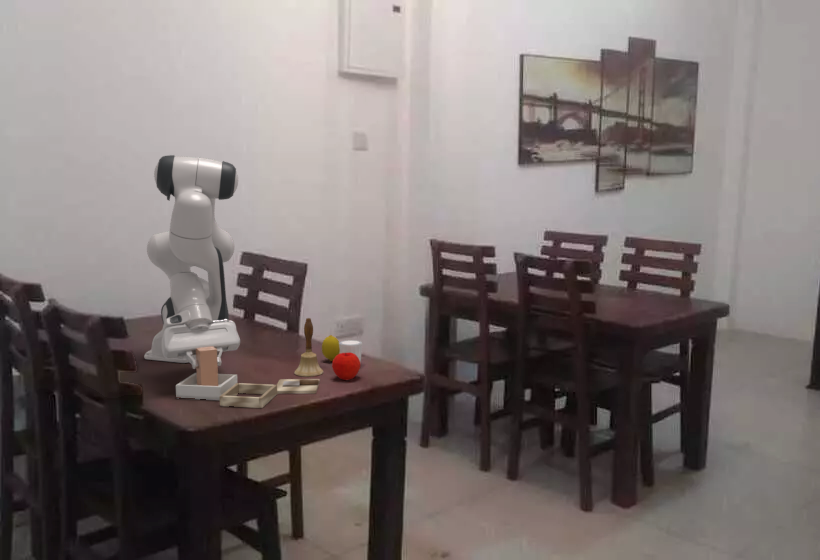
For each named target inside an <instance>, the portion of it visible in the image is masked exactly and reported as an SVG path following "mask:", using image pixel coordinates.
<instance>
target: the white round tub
mask: <svg viewBox="0 0 820 560" xmlns="http://www.w3.org/2000/svg"><path fill="white" fill-rule="evenodd" d="M339 348H340V353H353V354H355V355H356V356H357V357H358V358H359V360H360V366H361V365H362V351H363V342H362V341H361V340H355V339H350V340H348V339H347V340H346V339H345V340H342V341H339ZM340 353H339V354H340Z"/></svg>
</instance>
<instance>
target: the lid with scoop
mask: <svg viewBox="0 0 820 560" xmlns="http://www.w3.org/2000/svg"><path fill="white" fill-rule="evenodd" d="M278 379H279V378H278ZM320 381H321V379H320V378H303V379H301V378H293V379H291V378H288V379H287V378H286V379H285V378H283V379H282V378H281V379H279V380H278V382H276V385H277V395H279V394H282V395H283V394H285V395H291V394H294V395H295V394H300V395H301V394H304V395H305V394H308V395H309V394H311V395H312V394H317V391H318V389H319V385H320V383H321V382H320Z"/></svg>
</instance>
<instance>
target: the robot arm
mask: <svg viewBox="0 0 820 560" xmlns="http://www.w3.org/2000/svg"><path fill="white" fill-rule="evenodd" d="M153 174H154V175H153V177H154V181H155V182H154V183H155V185H156V188H157V189H158V191H159V192H160V193H161V194H162V195H164V196H166V200H167V201H170V200H171V196H172V197H174V205H173V209H172V213H171V215H170V216H171V218H170V223H169V230H168V231H162V232H160V233H155V234H152V236H151V237H150V238H149V239H148V243H147V244H146V245H147V246H146V252H147V257H148V259H149V260H150V262H151V263H152V264H153V265H154V266H155V267H157V268H159V269H160V270H161V271H162V272H163V273H164V274H165V275H166V276H167V278H168V279H169V287H170V296H169V297H168V298H167V299H166V301H165V302H164V303H163V305H162V307H161V309H160V313H161V314H160V315H161V321H162V324H163V325H162V329H161V330H160V331H159V332H158V333H157V334H156V335H155V336H154V337H153V339H152V342H151V349H150V350H148V351H146V352H145V353H144V356H143V357H144V359H145V360H148V361H149V360H150V361H151V360H152V361H161V362H169V363H181V364H185V363H187V364H188V363H190V364H191V368H192V370H195V369H197V368H199V361H198V360H196V348H202V347H210V346H213V347H214V348H216V349H217V365H218V366H219V367H220V366H222V359H221V357H222V353H223V352H231V351H237V350H238V348H239V347H240V344H241V339H240V335H239V333H238V330H237V325H236V323H235V321H233V320H229V319H230V316H229V315H230V313H229V308H228V302H227V293H226V291H227V289H226V280H225V279H226V277H225V267H224V263H228V262H229V261H230V260H231V259H232V257H233V255H234V252H235V242H234V240H233V237H232V235H231V234H230V233H229V232H228V231H227V230H225V229H223V228H221V227H220V226H219V224H218V223H217V222H216V218H215V209H216V208H215V207H216V199H218V200H219V201H221V200H222V201H223V200H228V199H231V198H232V197H233V196H234V194H235V193H236V190H237V189H238V186H239V175H238V172H237V168H236V167H235V165H234V164H233V163H230V162H228V161H224V160H223V161H219V160H216V159H211V158H206V157H201V156H200V157H196V156H195V157H194V156H175V154H173V155H172V154H169V155H163V156H161V157H160V158H159V160H158V162H157V163H156V165H155V168H154V173H153ZM192 267H196V268H200V269H201V270H204V271H206V272H207V280H208V281H207V280H206V279H204V278H202V277H201V276H200V277H199V275H198V274H197V273H195V272H193V271H191V268H192Z"/></svg>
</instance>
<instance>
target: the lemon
mask: <svg viewBox="0 0 820 560" xmlns="http://www.w3.org/2000/svg"><path fill="white" fill-rule="evenodd" d="M339 342H340V341H339V339H338V338H337V337H336V336H333V335H332V334H330V335H328V336H325V338H324V340H322V344H321V353H322V355H323V357H324V358H326V359H327V360H329V361H330V362H332V361H333V360H334V358H335V357H336V356H337V355H338V354H340V348H339Z"/></svg>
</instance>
